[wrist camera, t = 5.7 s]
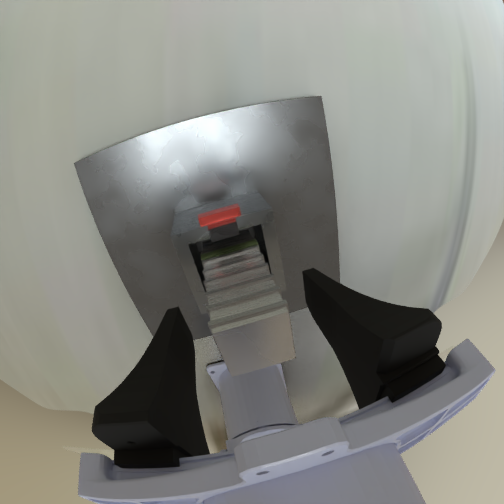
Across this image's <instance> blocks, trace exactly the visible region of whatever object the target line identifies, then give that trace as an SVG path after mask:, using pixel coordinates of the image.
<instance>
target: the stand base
mask: <svg viewBox="0 0 504 504" xmlns="http://www.w3.org/2000/svg"><path fill="white" fill-rule="evenodd" d="M74 165H75V168H76V171H77V174H78V177H79V180H80V183H81V186H82V189H83V191H84V194H85V197H86V200H87V202H88V205H89V208H90V210H91V213H92V215H93V218H94V220H95V223H96V225H97V227H98V230H99V232H100V235H101V237H102V239H103V241H104V244H105V246H106V248H107V250H108V252H109V255H110V257H111V259H112V261H113V263H114V265H115V267H116V269H117V271H118V273H119V275H120V277H121V279H122V281H123V283H124V285H125V287H126V289H127V291H128V293H129V295H130V297H131V299H132V300H133V302H134V304H135V306H136V308H137V309H138V311H139V313H140V315H141V316H142V318H143V320H144V322H145V323H146V325H147V327H148V328H149V330H150V332H151V333H152V335H153V337H154V335H155V333H156V331H157V329H158V327H159V325H160V323H161V321H162V319H163V317H164V315H165V313H166V311H167V309H171V308H175V307H178V306H179V308H180V311H181V313H182V315H183V317H184V319H185V321H186V323H187V325H188V327H189V329H190V331H191V333H192V336H193V340H195V339H199V338H203V337H207V336H211V335H212V333H211V331H210V329H209V327H208V322H209V321H211V320H210V317H209V315H208V313H207V310H206V306H209V305H208V302H207V300H206V297H205V292H207V291H206V288H205V286H204V280H205V278H204V275H203V270H204V268H203V265H202V261H201V252H203V246H202V242H204V241H207V240H211V241H212V242H215V241H219V240H222V239H226V238H229V237H233V236H236V235H240V234H239V231H243V230H246V229H248V230H249V232H250V234H251V236H252V238H255V239H256V241H257V243H258V246H259V249H260V253H263V256H264V260H265V263H268V266H269V271H270V274H272V273H273V275H274V279H275V284H276V286H279V287H280V290H281V295H282V300H285V299H286V301H287V303H288V309H289V313H291V312H294V311H297V310H300V309H303V308H306V307H308V306H307V304H306V300H305V291H304V283H303V274H302V271H304V270H308V269H311V268H315V269H316V270H318V271H320V272H321V273H323V274H325V275H326V276H328V277H330V278H331V279H333V280H335V281H337V282H338V283H340V271H339V245H338V227H337V213H336V201H335V190H334V180H333V171H332V163H331V155H330V147H329V140H328V133H327V127H326V120H325V114H324V108H323V103H322V97H321V96H316V97H306V98H297V99H289V100H282V101H275V102H269V103H263V104H257V105H252V106H246V107H241V108H237V109H232V110H227V111H223V112H218V113H214V114H210V115H206V116H202V117H198V118H195V119H191V120H187V121H184V122H180V123H177V124H174V125H170V126H167V127H164V128H161V129H158V130H155V131H152V132H149V133H146V134H143V135H140V136H138V137H135V138H132V139H129V140H127V141H124V142H122V143H119V144H117V145H114V146H112V147H109V148H107V149H104V150H102V151H100V152H97V153H95V154H93V155H91V156H88V157H86V158H84V159H82V160H80V161H78V162H75V163H74Z"/></svg>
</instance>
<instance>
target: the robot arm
mask: <svg viewBox="0 0 504 504" xmlns="http://www.w3.org/2000/svg"><path fill="white" fill-rule="evenodd" d="M302 274H303V283H304V291H305V300H306V304H307V306H308V308H309V310H310V312H311V315H312V317H313V318H314V320H315V322H316V323H317V325H318V326H319V328H320V330H321V331H322V333H323V334H324V336H325V337H326V339H327V340H328V342H329V344H330V345H331V347H332V348H333V350H334V352H335V354H336V356H337V358H338V360H339V362H340V364H341V366H342V368H343V371H344V373H345V375H346V377H347V380H348V382H349V384H350V387H351V389H352V391H353V394H354V396H355V399H356V402H357V404H358V407H359V410H357V411H355V412H353V413H351V414H348V415H346V416H343V417H341V418H339V419H337V418H334V417H324V418H321V419H317V420H313V421H310V422H308V423H305V424H298V421H297V418H296V415H295V413H294V410H293V407H292V405H291V402H290V399H289V396H288V394H287V391H286V390H287V388H286V384H285V379H284V375H283V370H282V366H281V363H279V364H276V365H272V366H269V367H266V368H262V369H259V370H255V371H252V372H248V373H244V374H240V375H237V376H233V377H232V375H231V373H230V372H229V370H228V368H227V366H226V364H225V362H224V361H223V362H219V363H215V364H211V365H208V366H207V367H206V368H207V372H208V373H209V375H210V377H211V379H212V380H213V382H214V384H215V385H216V387H217V389H218V391H219V392H220V396H221V402H222V408H223V414H224V419H225V425H226V430H227V436H228V440H226V446H227V449H226V450H221V451H220V453H214V454H210V453H209V449H208V446H207V442H206V438H205V434H204V430H203V426H202V421H201V416H200V411H199V406H198V400H197V393H196V373H195V349H194V343H193V336H192V333H191V331H190V329H189V327H188V325H187V323H186V321H185V319H184V317H183V315H182V313H181V311H180V308H179V306H178V307H175V308H171V309H167V311H166V313H165V315H164V317H163V319H162V321H161V323H160V325H159V327H158V329H157V331H156V333H155V335H154V337H153V339H152V341H151V343H150V344H149V346H148V348H147V350H146V351H145V353H144V355H143V356H142V358H141V359H140V361H139V362H138V363H137V365H136V366H135V368H134V369H133V370H132V371H131V372H130V374H129V375H128V376H127V377H126V378H125V380H124V381H123V382H122V383H121V384H120V385H119V386H118V387H117V388H116V389H115V390H114V391H113V392H112V393H111V394H110V395H109V396H107V397H106V398H105V399H104V400H103V401H101V402H100V403H99V404H98V405H96V406H95V411H94V418H93V424H92V432H93V434H94V435H95V436H96V437H97V438H98V439H99V440H101V441H102V442H103V443H105V444H106V445H108V446H109V447H111V448H112V449H114V460H111V459H110V458H109V457H107V456H105V455H102V454H97V453H81V458H80V469H79V486H78V487H79V488H78V495H79V496H80V497H82V498H85V499H87V500H90V501H92V502H95V503H98V504H426V503H425V501H424V499H423V497H422V495H421V493H420V491H419V489H418V487H417V485H416V484H415V482H414V480H413V478H412V476H411V474H410V472H409V470H408V468H407V466H406V465H405V463H404V461H403V459H402V457H401V455H400V454H401V453H403V452H405V451H406V450H408V449H409V448H411V447H412V446H414V445H415V444H417V443H418V442H420V441H421V440H423V439H424V438H426V437H427V436H428V435H430V434H431V433H433V432H434V431H435V430H437V429H438V428H439V427H441V426H442V425H443V424H444V423H446V422H447V421H448V420H449V419H451V418H452V417H453V416H455V415H456V414H457V413H458V412H459V411H461V410H462V409H463V408H464V407H465V406H467V405H468V404H469V403H470V402H471V401H472V400H474V399H475V398H476V397H477V395H478V394H479V393H480V392H481V390H482V389H483V388H484V386H485V385H486V384H487V382H488V381H489V380H490V378H491V377H492V375H493V374H494V373H495V368H494V367H493V366H492V365H491V364H490V363H489V361H488V360H487V359H486V358H485V357H484V356H483V355H482V353H480V351H479V350H478V349H477V348H476V347H475V346H474V345H473V343H472V342H470V340H469V339H466V340H464V341H463V342H462V343H460V344H459V345H457V346H456V347H455V348H453V349H452V350H451V351H450V353H449V354H448V356H447V358H446V361H445V362H443V360H442V359H441V358H440V357H439V356H438V354H439V350H438V349H437V347H435V345H436V343H437V340H438V338H439V335H440V332H441V328H442V323H441V321H440V320H439V319H438V318H437V317H436V316H435V315H434V314H433V313H432V312H431V311H430V310H429V309H424V308H413V307H406V306H400V305H395V304H391V303H387V302H384V301H380V300H377V299H374V298H371V297H368V296H366V295H363V294H361V293H358V292H356V291H354V290H352V289H350V288H348V287H346V286H344V285H342V284H340V283H338V282H337V281H335V280H333V279H331V278H330V277H328V276H326V275H325V274H323V273H321V272H320V271H318V270H316V269H315V268H311V269H308V270H304V271H302Z"/></svg>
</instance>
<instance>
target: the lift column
mask: <svg viewBox="0 0 504 504" xmlns="http://www.w3.org/2000/svg"><path fill="white" fill-rule="evenodd" d="M239 234H240V235H236V236H233V237H229V238H226V239H222V240H219V241H215V242H212V241H211V240H207V241H204V242H202V246H203V252H201V261H202V265H203V268H204V270H203V275H204V278H205V280H204V286H205V288H206V291H207V292H205V297H206V300H207V302H208V305H209V306H206V310H207V313H208V315H209V317H210V320H211V321H209V322H208V327H209V329H210V331H211V333H212V336H213V338H214V340H215V342H216V345H217V347H218V349H219V351H220V353H221V356H222V358H223V360H224V362H225V364H226V366H227V368H228V370H229V372H230V373H231V375H232V377H233V376H237V375H240V374H244V373H248V372H252V371H255V370H259V369H262V368H266V367H269V366H272V365H276V364H279V363H282V362H285V361H288V360H291V359H294V358H296V357H295V347H294V341H293V334H292V328H291V322H290V315H289V309H288V303H287V301H286V299H285V300H282V295H281V290H280V287H279V286H276V284H275V279H274V275H273V273H272V274H270V271H269V266H268V263H265V260H264V256H263V253H260V249H259V246H258V243H257V241H256V239H255V238H252V236H251V234H250V232H249V230H248V229H246V230H243V231H239Z"/></svg>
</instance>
